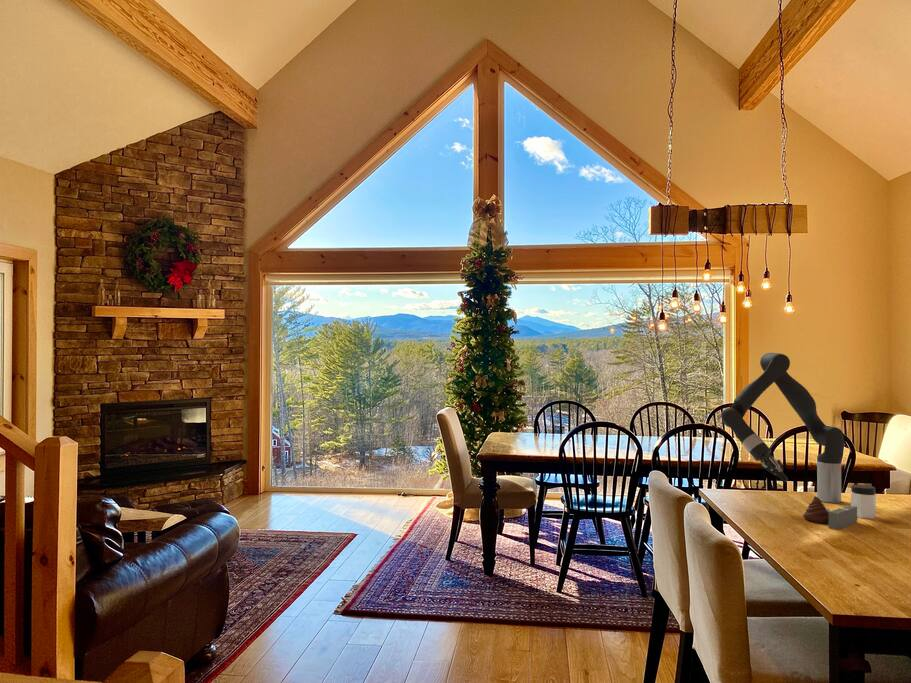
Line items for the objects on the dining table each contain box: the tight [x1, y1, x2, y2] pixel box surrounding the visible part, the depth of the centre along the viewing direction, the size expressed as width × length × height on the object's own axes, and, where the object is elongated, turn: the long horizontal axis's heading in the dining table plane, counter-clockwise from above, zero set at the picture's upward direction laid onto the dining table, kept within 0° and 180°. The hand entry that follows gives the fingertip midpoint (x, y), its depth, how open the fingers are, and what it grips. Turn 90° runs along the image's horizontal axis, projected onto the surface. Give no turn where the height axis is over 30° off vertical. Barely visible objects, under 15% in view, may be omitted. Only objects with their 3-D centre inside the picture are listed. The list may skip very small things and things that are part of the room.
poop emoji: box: [803, 496, 831, 525], centre depth 245 cm, size 10×8×9 cm
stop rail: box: [828, 505, 858, 531], centre depth 239 cm, size 18×3×6 cm, turn 127°
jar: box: [850, 484, 877, 520], centre depth 253 cm, size 9×8×12 cm
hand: (786, 480), depth 256 cm, fingers closed
